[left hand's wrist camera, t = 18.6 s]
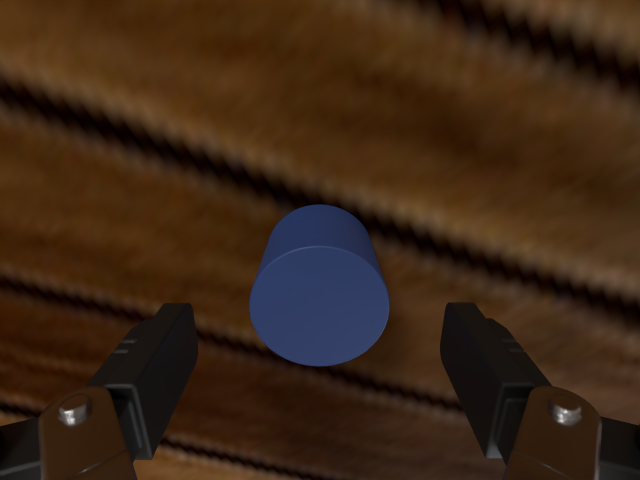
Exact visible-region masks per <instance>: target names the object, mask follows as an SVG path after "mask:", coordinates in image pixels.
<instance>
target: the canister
mask: <svg viewBox="0 0 640 480" xmlns="http://www.w3.org/2000/svg"><path fill="white" fill-rule="evenodd" d="M389 308H390V302H389V294H388V291H387V288H386V285H385V282H384V279H383V276H382V273H381V270H380V267H379V264H378V261H377V258H376V255H375V252H374V249H373V246H372V243H371V241H370V238H369V235H368V233H367V231H366V229H365V228H364V226H363V225H362V224H361V223H360V221H359V220H358V219H356V218H355V217H354V216H353V215H351V214H350V213H348V212H347V211H345V210H343V209H340V208H337V207H334V206H329V205H310V206H305V207H302V208H299V209H297V210H294V211H292V212H291V213H289V214H288V215H286V216H285V217H284V218H283V219H281V220H280V222H279V223H278V224H277V225H276V226H275V228H274V229H273V231H272V233H271V235H270V238H269V241H268V244H267V247H266V249H265V252H264V255H263V258H262V261H261V264H260V267H259V270H258V273H257V276H256V279H255V282H254V284H253V287H252V291H251V294H250V300H249V310H250V317H251V320H252V324H253V326H254V328H255V330H256V332H257V334H258V335H259V337H260V338H261V340H262V341H263V342H264V343H265V344H266V345H267V346H268V347H269V348H270V349H271V350H272V351H274V352H275V353H277V354H278V355H280V356H281V357H283V358H285V359H287V360H290V361H292V362H295V363H299V364H303V365H309V366H330V365H336V364H340V363H344V362H346V361H349V360H352V359H354V358H356V357H357V356H359V355H361V354H362V353H364V352H365V351H367V350H368V349H369V348H370V347H371V346H372V345H373V344H374V343H375V342H376V341H377V340H378V338H379V337H380V335H381V334H382V332H383V330H384V328H385V326H386V323H387V320H388V316H389Z"/></svg>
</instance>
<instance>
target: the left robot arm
mask: <svg viewBox="0 0 640 480" xmlns="http://www.w3.org/2000/svg"><path fill="white" fill-rule="evenodd" d="M440 354H441V359H442V363H443V365H444V368H445V370H446V372H447V374H448V376H449V379H450V381H451V383H452V385H453V387H454V390H455V392H456V394H457V396H458V398H459V401H460V403H461V405H462V407H463V409H464V412H465V414H466V416H467V418H468V420H469V423H470V425H471V427H472V429H473V431H474V434H475V436H476V438H477V440H478V442H479V445H480V447H481V449H482V451H483V453H484V456H485V458H503V460H504V462H505V464H506V466H507V467H506V470H505V473H504V476H503V480H640V424H639V425H634V424H630V423H626V422H622V421H617V420H613V419H609V418H605V417H601V416H600V415H599V414H598V412H597V411H596V409H595V408H594V407H593V406H592V405H591V404H590V403H588V402H587V401H586V400H585V399H583V398H581V397H580V396H578V395H576V394H574V393H572V392H570V391H568V390H565V389H562V388H558V387H553V386H552V385H551V384H550V382H549V381H548V380H547V379H546V377H545V376H544V375H543V374H542V372H541V371H540V370H539V369H538V367H537V366H536V365H535V364H534V362H533V361H532V360H531V359H530V357H529V356H528V355H527V354H526V352H524V350H523V349H522V347H521V346H520V345H519V343H516V340H515V338H514V337H513V336H512V335H511V333H510V332H509V331H508V330H507V328H505V327H504V326H502V325H501V324H499V323H498V322H496V321H495V320H493V319H486V318H485V317H484V316H483V314H482V313H481V311H480V310H479V309H478V307H477V306H476V305H475V304H474V303H448V304H447V305H446V308H445V315H444V321H443V328H442V335H441V342H440ZM197 356H198V341H197V335H196V328H195V321H194V314H193V309H192V306H191V304H190V303H165V304H163V305H162V307H161V308H160V309H159V311H158V312H157V313H156V315H155V316H154V317H153V319H146V320H144V321H143V322H141V323H140V324H138V325H137V326H135V327H134V328H132V329H131V330H130V331H129V333H128V334H127V335H126V336H125V338H124V339H123V340H122V343H120V344H119V345H118V346H117V347H116V349H115V350H114V353H112V354H111V355H110V356H109V357H108V359H107V360H106V361H105V362H104V364H103V365H102V366H101V367H100V369H99V370H98V371H97V372H96V374H95V375H94V376H93V377H92V379H91V380H90V381H89V382H88V384H87V385H86V386H85V387H82V388H78V389H75V390H72V391H70V392H68V393H66V394H64V395H62V396H60V397H59V398H57V399H55V400H54V401H53V402H52V403H50V404H49V405H48V406H47V407H46V408H45V409H44V411H43V412H42V414H41V415H40V417H37V418H34V419H29V420H25V421H21V422H17V423H12V424H8V425H4V426H0V480H137V476H136V473H135V470H134V467H133V462H134V460H152V458H153V456H154V453H155V451H156V449H157V447H158V445H159V442H160V440H161V438H162V436H163V434H164V432H165V429H166V427H167V425H168V423H169V421H170V419H171V416H172V414H173V412H174V410H175V408H176V406H177V403H178V401H179V399H180V397H181V395H182V393H183V390H184V388H185V386H186V384H187V382H188V380H189V377H190V375H191V373H192V371H193V369H194V367H195V364H196V361H197Z"/></svg>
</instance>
